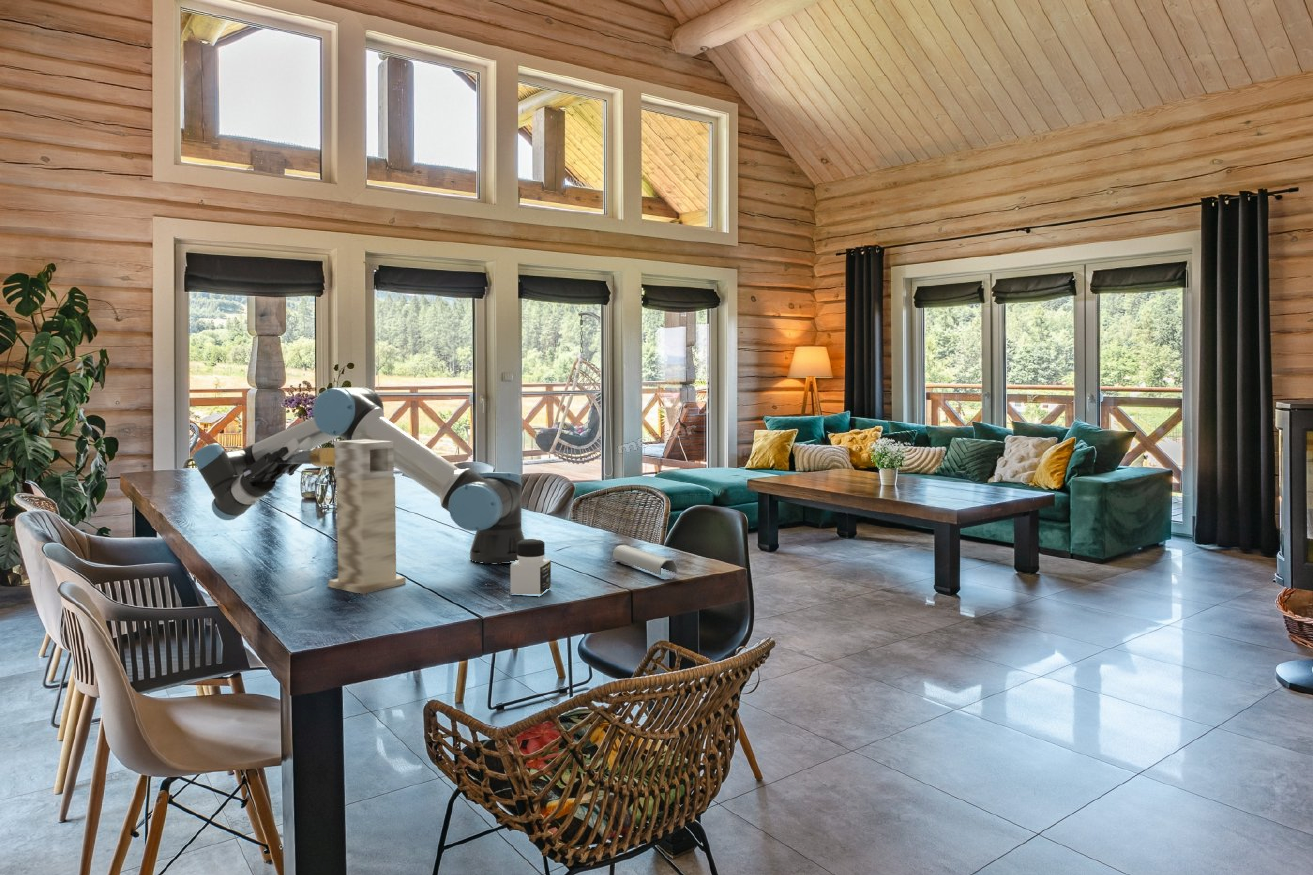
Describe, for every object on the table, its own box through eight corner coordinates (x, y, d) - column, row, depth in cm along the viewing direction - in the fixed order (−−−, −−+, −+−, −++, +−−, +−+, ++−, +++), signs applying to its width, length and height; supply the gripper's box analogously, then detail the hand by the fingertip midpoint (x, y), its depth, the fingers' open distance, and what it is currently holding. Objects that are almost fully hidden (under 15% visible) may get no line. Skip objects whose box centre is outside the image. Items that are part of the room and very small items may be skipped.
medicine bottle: (540, 597, 193) (540, 543, 192) (510, 595, 194) (509, 542, 193) (551, 590, 200) (551, 537, 199) (521, 588, 201) (521, 536, 200)
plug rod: (268, 466, 216) (267, 448, 216) (284, 465, 220) (283, 447, 220) (337, 467, 202) (336, 448, 202) (353, 465, 206) (352, 446, 206)
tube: (606, 547, 230) (656, 564, 209) (623, 539, 233) (674, 555, 212) (612, 566, 232) (662, 585, 210) (629, 557, 234) (680, 575, 213)
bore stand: (328, 586, 201) (325, 441, 198) (371, 576, 211) (369, 438, 208) (363, 594, 194) (361, 444, 192) (405, 583, 204) (404, 441, 202)
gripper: (287, 494, 230) (337, 454, 218) (228, 501, 216) (278, 458, 204) (278, 468, 231) (327, 427, 220) (219, 473, 218) (268, 430, 206)
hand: (303, 442), depth 212 cm, fingers closed on plug rod, 3 cm apart
